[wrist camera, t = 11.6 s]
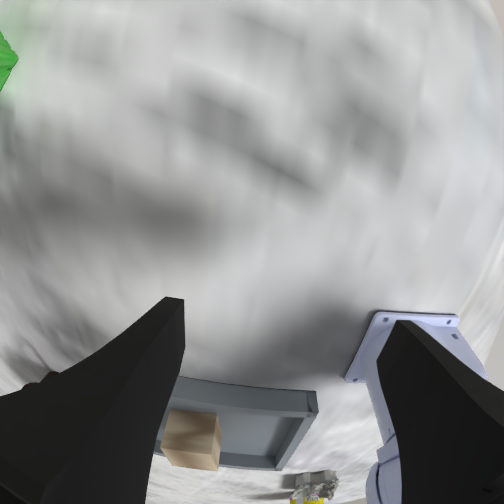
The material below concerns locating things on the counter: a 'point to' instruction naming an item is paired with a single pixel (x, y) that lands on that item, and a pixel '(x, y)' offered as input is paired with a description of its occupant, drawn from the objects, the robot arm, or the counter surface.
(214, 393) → the tray
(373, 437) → the counter surface
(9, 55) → the fruit basket
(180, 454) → the wooden cube
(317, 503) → the supplement bottle
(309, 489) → the grey lumpy block
